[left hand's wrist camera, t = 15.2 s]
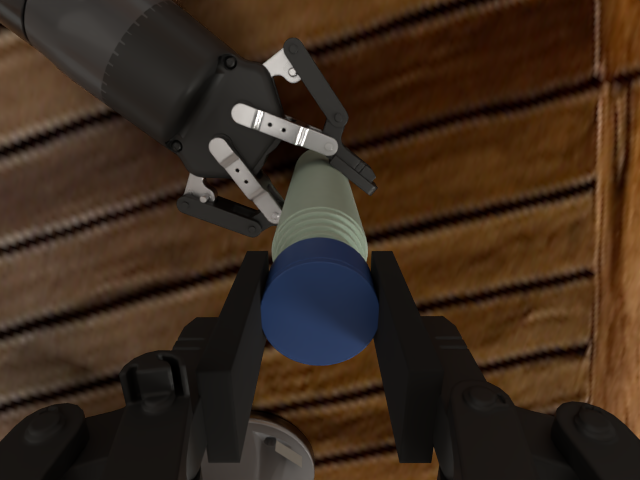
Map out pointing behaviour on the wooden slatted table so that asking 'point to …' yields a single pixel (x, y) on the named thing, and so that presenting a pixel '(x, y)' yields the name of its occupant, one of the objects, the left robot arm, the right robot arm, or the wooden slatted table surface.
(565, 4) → the wooden slatted table surface
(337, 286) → the cap
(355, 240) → the bottle
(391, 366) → the left robot arm
